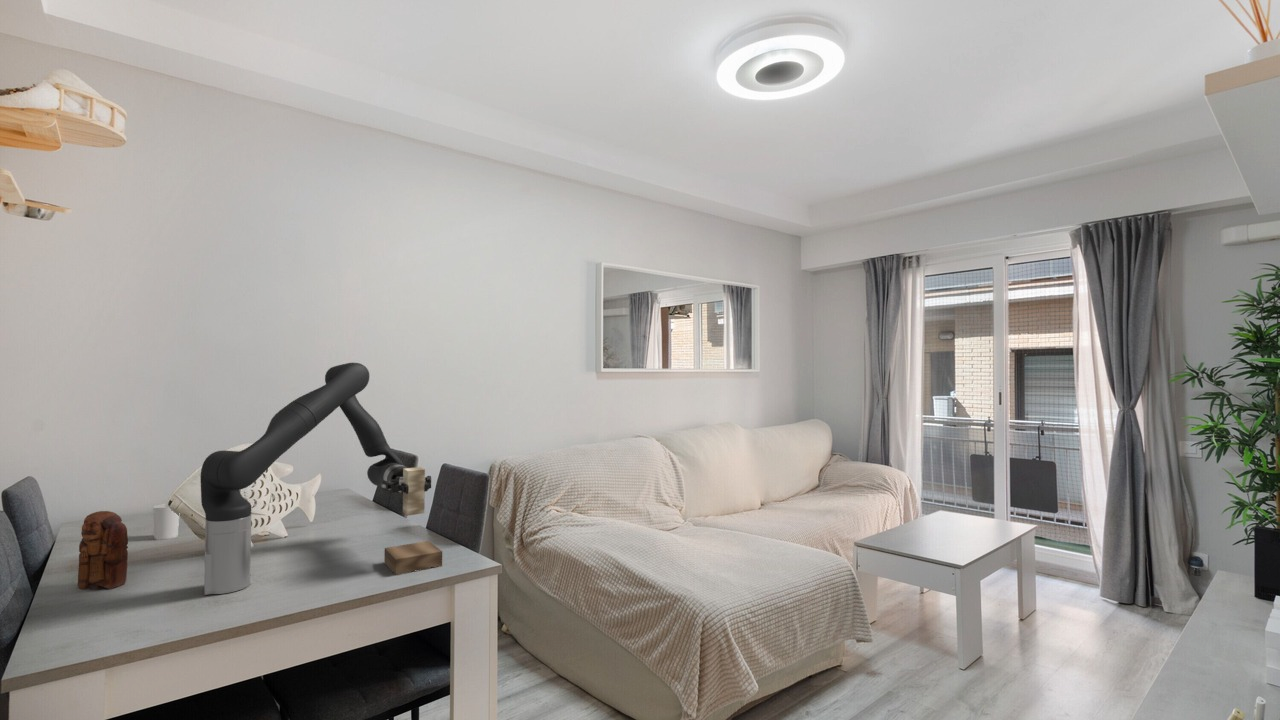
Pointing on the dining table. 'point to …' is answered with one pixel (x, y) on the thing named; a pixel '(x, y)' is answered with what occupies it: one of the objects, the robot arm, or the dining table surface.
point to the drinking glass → (165, 522)
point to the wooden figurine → (103, 551)
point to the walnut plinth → (412, 557)
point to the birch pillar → (414, 491)
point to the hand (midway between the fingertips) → (416, 488)
